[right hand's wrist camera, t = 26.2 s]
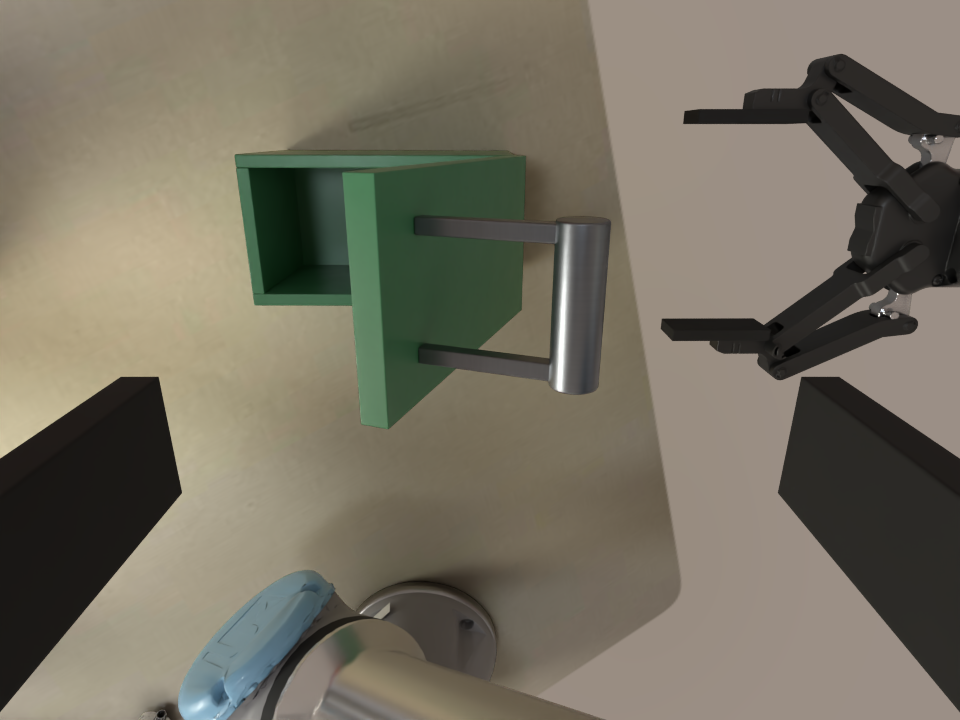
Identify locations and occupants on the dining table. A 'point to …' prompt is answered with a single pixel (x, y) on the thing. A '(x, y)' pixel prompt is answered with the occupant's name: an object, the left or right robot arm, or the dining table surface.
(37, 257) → the dining table surface
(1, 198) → the dining table surface
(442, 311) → the lid
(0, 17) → the dining table surface
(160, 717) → the toy gun
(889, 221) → the left robot arm
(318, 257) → the chest
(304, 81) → the dining table surface
